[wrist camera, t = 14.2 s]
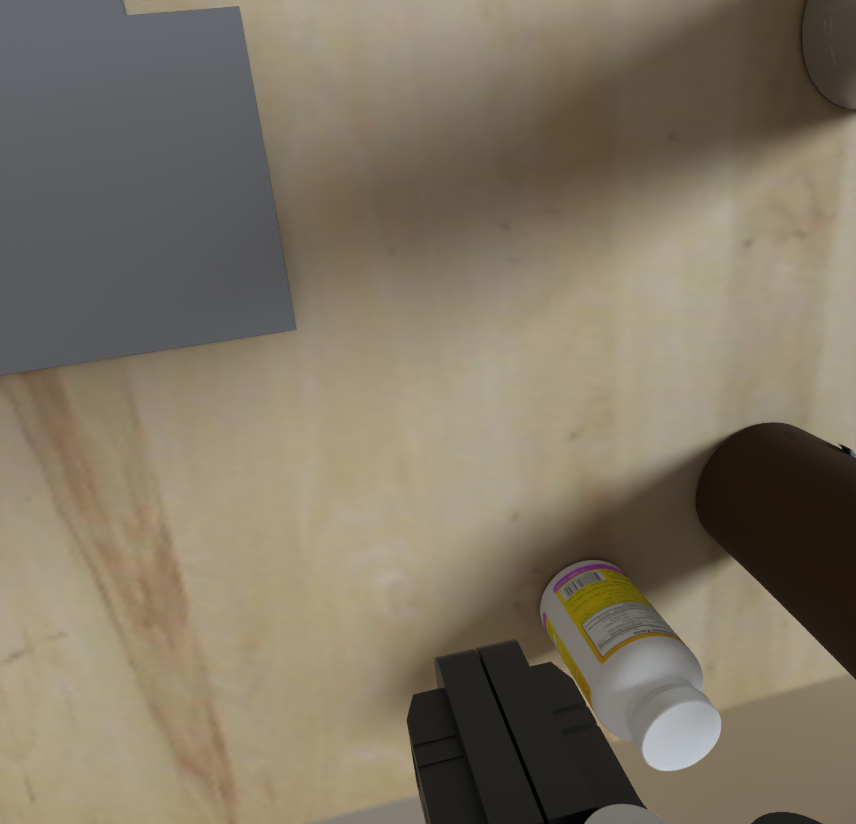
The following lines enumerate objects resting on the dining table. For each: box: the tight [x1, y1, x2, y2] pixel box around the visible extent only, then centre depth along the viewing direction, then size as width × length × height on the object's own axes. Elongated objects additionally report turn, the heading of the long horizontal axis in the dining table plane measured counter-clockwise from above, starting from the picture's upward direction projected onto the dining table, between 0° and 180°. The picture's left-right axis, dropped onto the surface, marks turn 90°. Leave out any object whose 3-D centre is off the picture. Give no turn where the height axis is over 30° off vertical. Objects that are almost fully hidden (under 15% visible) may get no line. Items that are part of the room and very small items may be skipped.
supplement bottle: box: [540, 560, 721, 771], centre depth 44 cm, size 7×7×13 cm
